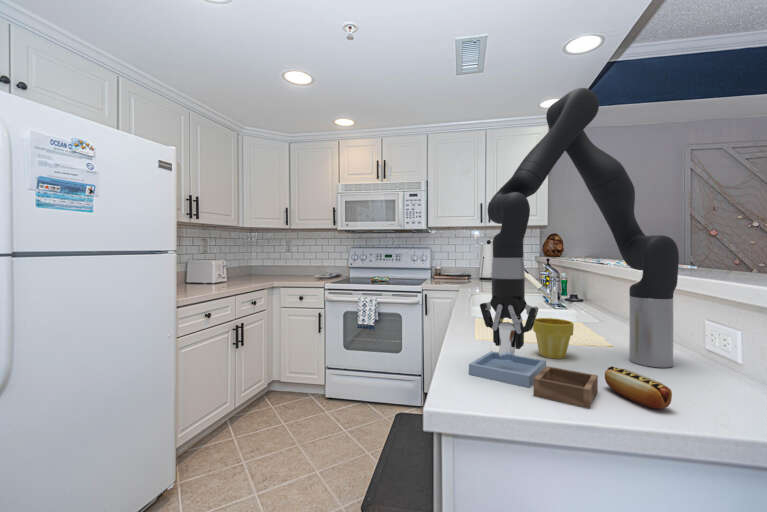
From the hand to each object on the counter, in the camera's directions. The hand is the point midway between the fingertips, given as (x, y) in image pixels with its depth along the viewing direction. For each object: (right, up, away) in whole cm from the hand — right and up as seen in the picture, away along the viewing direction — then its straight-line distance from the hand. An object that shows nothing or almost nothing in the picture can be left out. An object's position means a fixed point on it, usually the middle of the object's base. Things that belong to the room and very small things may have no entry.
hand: (508, 346), depth 88 cm
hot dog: (+19, -7, -16) cm, 26 cm away
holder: (+7, -6, -13) cm, 17 cm away
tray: (0, -6, 0) cm, 6 cm away
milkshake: (0, -3, 0) cm, 3 cm away
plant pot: (+17, -6, +14) cm, 23 cm away
